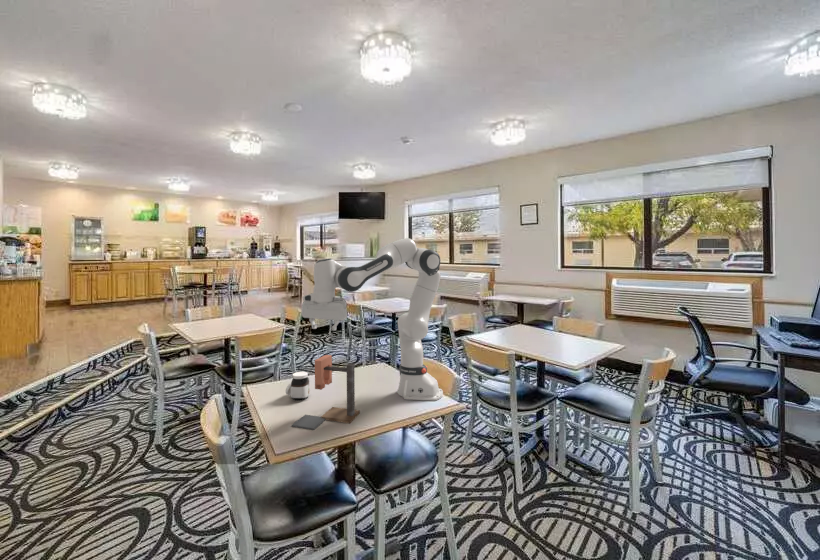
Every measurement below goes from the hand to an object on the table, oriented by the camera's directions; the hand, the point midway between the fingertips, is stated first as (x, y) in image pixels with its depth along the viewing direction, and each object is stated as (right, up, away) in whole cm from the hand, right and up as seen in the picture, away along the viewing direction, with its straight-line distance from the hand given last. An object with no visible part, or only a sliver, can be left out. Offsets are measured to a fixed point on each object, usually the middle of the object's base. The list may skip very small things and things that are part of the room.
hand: (324, 329), depth 152 cm
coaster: (-4, -37, -7) cm, 38 cm away
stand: (+5, -36, 0) cm, 37 cm away
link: (0, -24, 0) cm, 24 cm away
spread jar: (-17, -35, +19) cm, 44 cm away
